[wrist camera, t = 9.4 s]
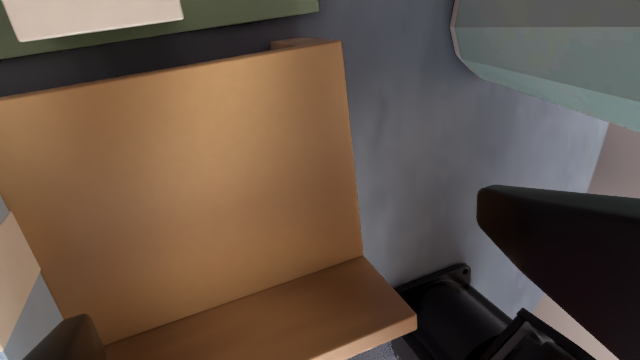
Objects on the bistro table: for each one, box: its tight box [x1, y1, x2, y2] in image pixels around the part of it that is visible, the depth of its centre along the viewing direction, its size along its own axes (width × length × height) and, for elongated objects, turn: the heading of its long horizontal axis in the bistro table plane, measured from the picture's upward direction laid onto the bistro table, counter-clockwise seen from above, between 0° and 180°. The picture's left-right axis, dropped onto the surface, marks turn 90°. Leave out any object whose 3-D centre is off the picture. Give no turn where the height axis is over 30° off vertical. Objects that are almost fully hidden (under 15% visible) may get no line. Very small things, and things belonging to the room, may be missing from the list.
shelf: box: [0, 37, 417, 360], centre depth 15 cm, size 20×11×10 cm, turn 100°
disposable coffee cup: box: [450, 0, 640, 133], centre depth 17 cm, size 11×11×15 cm
